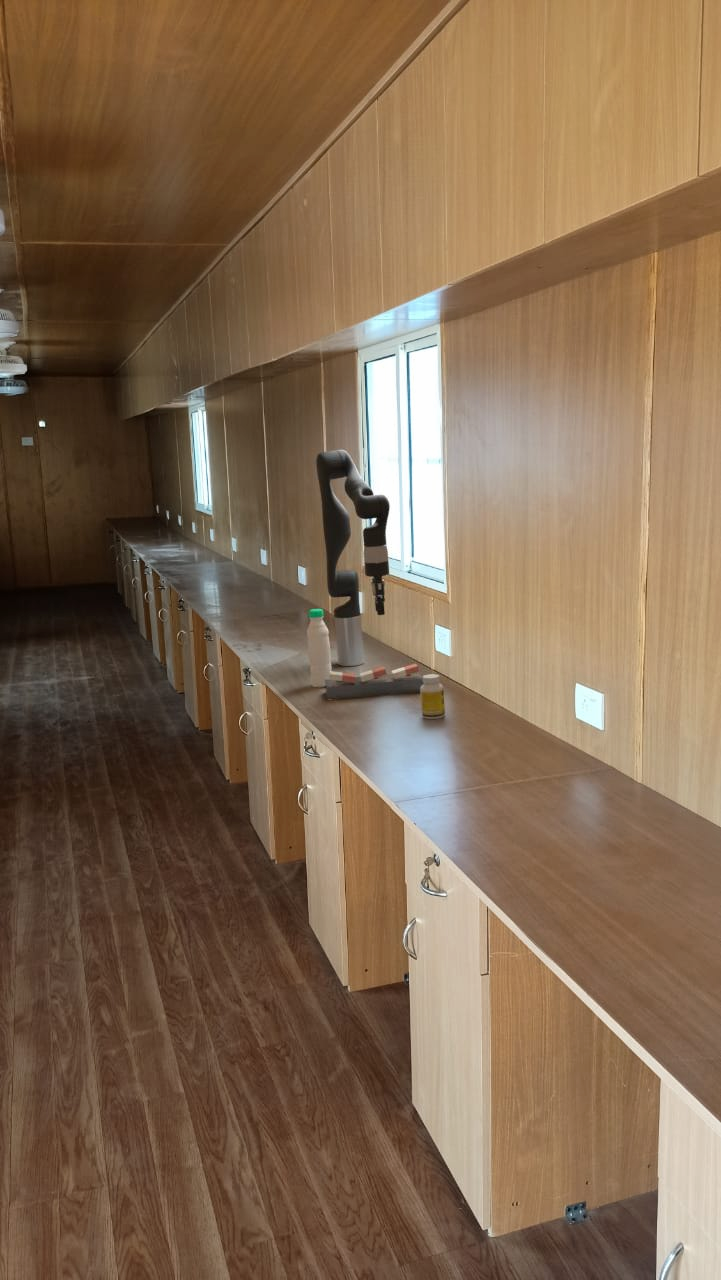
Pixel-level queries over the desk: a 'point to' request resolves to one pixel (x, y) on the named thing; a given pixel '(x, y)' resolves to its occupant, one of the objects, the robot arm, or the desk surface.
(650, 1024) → the desk surface
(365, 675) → the block
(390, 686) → the power strip
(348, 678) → the rocker
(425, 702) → the pill bottle
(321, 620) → the water bottle
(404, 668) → the rocker
